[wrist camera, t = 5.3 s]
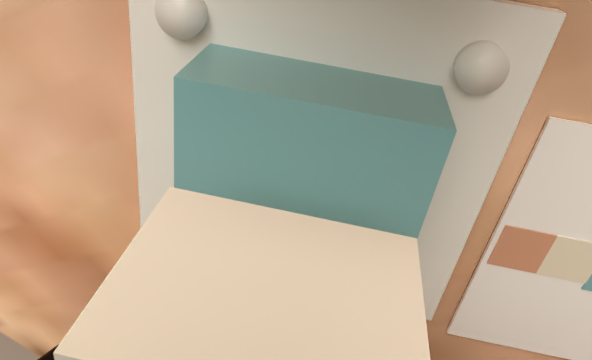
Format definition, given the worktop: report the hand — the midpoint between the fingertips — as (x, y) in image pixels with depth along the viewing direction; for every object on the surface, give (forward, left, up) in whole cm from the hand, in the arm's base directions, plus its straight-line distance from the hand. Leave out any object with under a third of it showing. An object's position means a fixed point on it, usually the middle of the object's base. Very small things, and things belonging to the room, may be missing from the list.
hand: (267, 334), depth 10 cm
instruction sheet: (-10, +2, -8) cm, 13 cm away
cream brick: (0, 0, -1) cm, 1 cm away
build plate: (0, 0, -8) cm, 8 cm away
